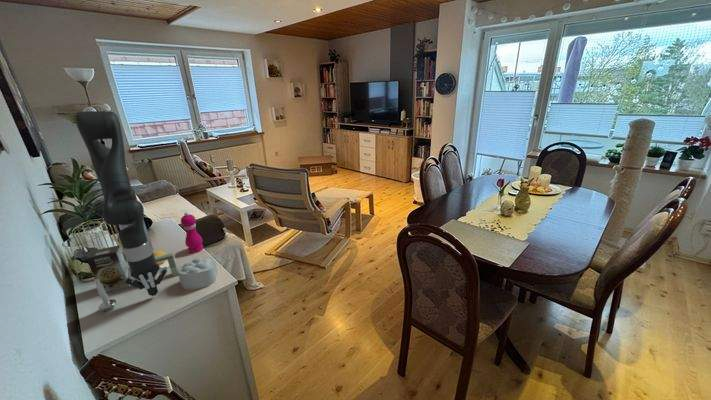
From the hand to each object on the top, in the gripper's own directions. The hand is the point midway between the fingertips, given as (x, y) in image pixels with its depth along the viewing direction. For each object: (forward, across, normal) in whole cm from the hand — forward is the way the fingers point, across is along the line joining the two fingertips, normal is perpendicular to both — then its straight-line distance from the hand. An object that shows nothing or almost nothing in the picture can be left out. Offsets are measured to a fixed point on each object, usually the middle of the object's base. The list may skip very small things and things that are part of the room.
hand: (154, 294), depth 106 cm
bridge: (+2, 0, -13) cm, 13 cm away
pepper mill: (+2, -15, -31) cm, 34 cm away
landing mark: (+2, 0, -27) cm, 27 cm away
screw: (+2, +14, -2) cm, 14 cm away
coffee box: (+2, +14, -17) cm, 22 cm away
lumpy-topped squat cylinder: (+2, -15, -2) cm, 15 cm away
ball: (-2, -1, -27) cm, 27 cm away
